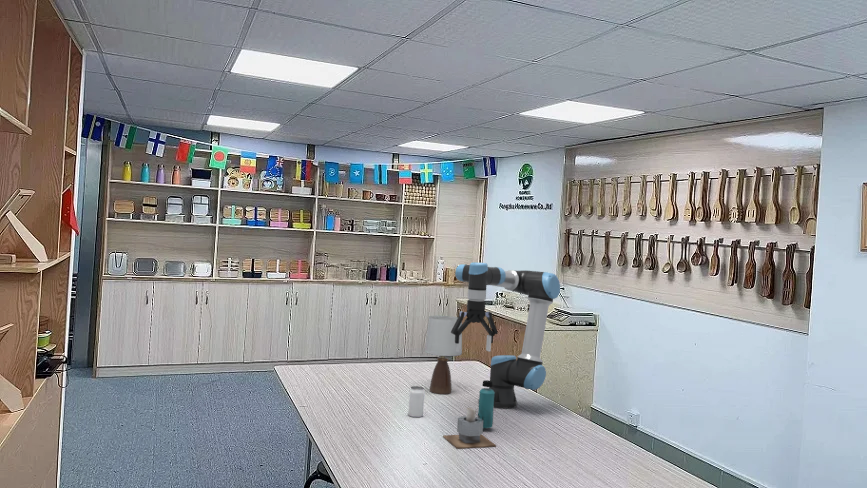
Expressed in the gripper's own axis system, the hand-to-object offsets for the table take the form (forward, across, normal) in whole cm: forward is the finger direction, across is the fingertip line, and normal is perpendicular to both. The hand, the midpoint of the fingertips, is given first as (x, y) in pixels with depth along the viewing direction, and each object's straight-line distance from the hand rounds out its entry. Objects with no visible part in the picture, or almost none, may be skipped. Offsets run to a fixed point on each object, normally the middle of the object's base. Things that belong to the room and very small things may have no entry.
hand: (473, 351), depth 270 cm
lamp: (+32, -10, -57) cm, 66 cm away
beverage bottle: (+31, -4, +6) cm, 32 cm away
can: (+31, +17, -17) cm, 40 cm away
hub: (+27, +9, +19) cm, 34 cm away
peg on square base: (+31, +9, +19) cm, 37 cm away
